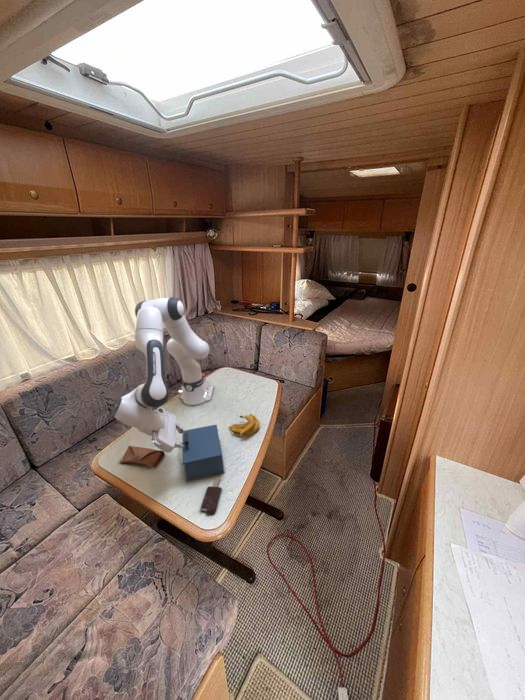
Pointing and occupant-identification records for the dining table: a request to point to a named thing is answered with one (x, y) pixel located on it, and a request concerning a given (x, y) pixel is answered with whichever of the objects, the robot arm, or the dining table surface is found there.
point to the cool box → (204, 468)
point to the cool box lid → (200, 444)
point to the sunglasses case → (143, 456)
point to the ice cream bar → (211, 498)
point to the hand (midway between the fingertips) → (182, 438)
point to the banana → (246, 426)
